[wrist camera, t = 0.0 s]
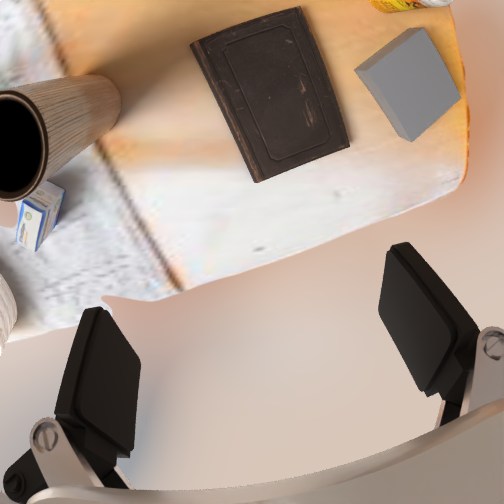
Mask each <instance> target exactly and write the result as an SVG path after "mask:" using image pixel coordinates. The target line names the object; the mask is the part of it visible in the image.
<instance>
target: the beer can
mask: <svg viewBox="0 0 504 504" xmlns="http://www.w3.org/2000/svg"><path fill="white" fill-rule="evenodd" d="M369 1H370V3H371V4H372V5H373V6H374V7H375V8H376V9H378V10H379V11H381V12H384V13H393V12H399V11H406V10H413V9H422V8H431V7H443V6H448V5H449V4H450V3H451V2H453V1H454V0H369Z"/></svg>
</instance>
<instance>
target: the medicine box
mask: <svg viewBox="0 0 504 504" xmlns="http://www.w3.org/2000/svg"><path fill="white" fill-rule="evenodd" d="M64 193H65V190H64V189H62V188H60V187H58V186H56V185H54V184H53V183H51V182H49V181H47V180H46V181H45V182H44V183H43V184H42V185H41V186H39V187H38V188H37V189H36V190H35V191H34V192H33V193H32V194H30V195H29V196H28V197H26V198H25V199H24V200H23V201H22V205H21V210H20V215H19V221H18V227H17V234H16V240H15V242H16V243H18V244H20V245H22V246H23V247H25V248H27V249H29V250H31V251H34V252H36V251H37V249H38V248H39V247H40V245H41V244H42V243H43V241H44V240H45V239H46V238H47V236H48V235H49V234H50V232H51V231H52V230H53V229H54V227H55V225H56V221H57V217H58V213H59V210H60V206H61V203H62V199H63V196H64Z"/></svg>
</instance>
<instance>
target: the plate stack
mask: <svg viewBox="0 0 504 504" xmlns="http://www.w3.org/2000/svg"><path fill="white" fill-rule="evenodd" d="M16 320H17V306H16V302H15V299H14V296H13V294H12V292H11V290H10V288H9V286H8V284H7V283H6V281H5V279H4V278H3V277H2V275H1V274H0V355H1V353H2V350H3V348H4V346H5V344H6V341H7V339H8V337H9V335H10V333H11V331H12V329H13V326H14V324H15V322H16Z"/></svg>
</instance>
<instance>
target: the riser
mask: <svg viewBox="0 0 504 504" xmlns="http://www.w3.org/2000/svg"><path fill="white" fill-rule="evenodd" d="M354 71H355V72H356V74H357V75H358V76H359V78H360V79H361V80H362V82H363V83H364V84H365V86H366V87H367V89H368V90H369V91H370V93H371V94H372V96H373V97H374V98H375V100H376V101H377V103H378V104H379V106H380V107H381V109H382V110H383V112H384V113H385V115H386V116H387V118H388V120H389V121H390V123H391V124H392V126H393V127H394V129H395V131H396V132H397V134H398V136H400V137H402V138H404V139H406V140H408V141H410V142H413V141H414V140H415V139H416V138H417V137H419V136H420V135H421V134H422V133H423V132H424V131H425V130H426V129H427V128H429V127H430V126H431V125H432V124H433V123H434V122H435V121H436V120H437V119H439V118H440V117H441V116H442V115H443V114H444V113H445V112H446V111H447V110H448V109H450V108H451V107H452V106H453V105H454V104H455V103H456V102H457V101H458V100H459V99H460V98H461V96H460V94H459V92H458V90H457V88H456V85H455V83H454V81H453V79H452V77H451V75H450V73H449V71H448V69H447V67H446V65H445V64H444V62H443V60H442V58H441V56H440V54H439V53H438V51H437V49H436V47H435V46H434V44H433V42H432V41H431V39H430V37H429V36H428V34H427V32H426V31H425V29H424V28H409V29H408V30H406V31H405V32H403V33H402V34H401V35H399V36H398V37H397V38H395V39H394V40H393V41H391V42H390V43H388V44H387V45H386V46H384V47H383V48H382V49H380V50H379V51H378V52H376V53H375V54H374V55H373V56H371V57H370V58H369V59H367V60H366V61H365V62H363V63H362V64H361V65H360V66H358V67H357V68H356V69H355V70H354Z"/></svg>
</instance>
